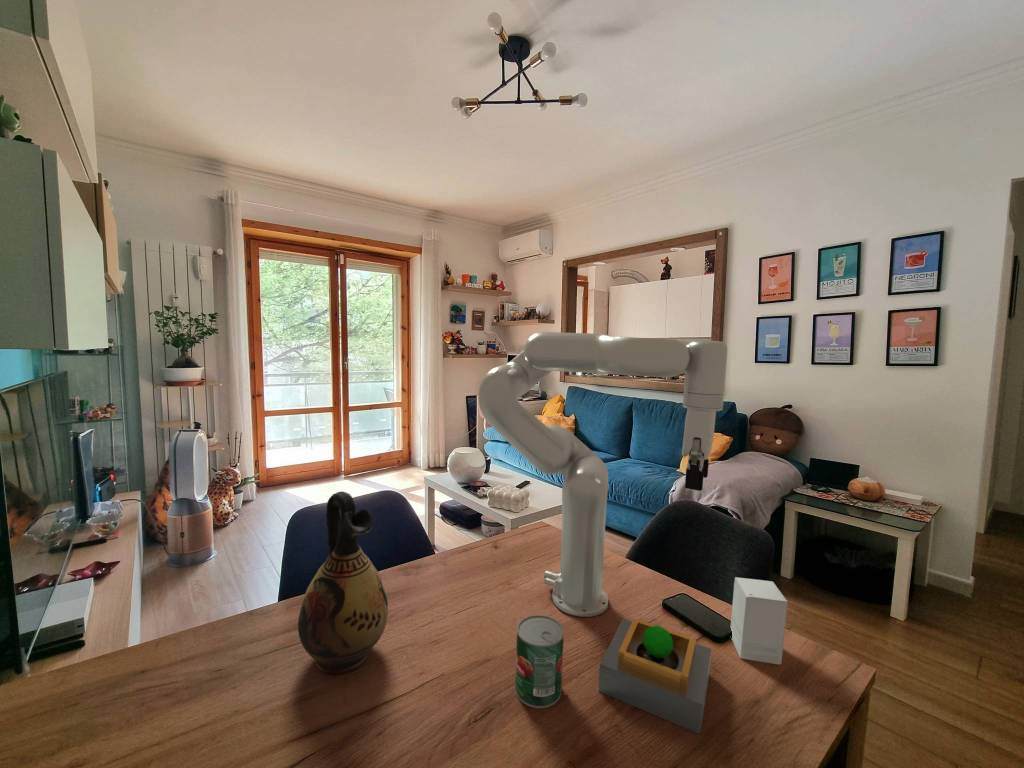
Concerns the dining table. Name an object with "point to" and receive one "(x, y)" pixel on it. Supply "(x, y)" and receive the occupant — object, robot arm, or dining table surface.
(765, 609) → the supplement box
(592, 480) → the robot arm
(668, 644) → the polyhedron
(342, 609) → the ceramic jug
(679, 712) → the grey yellow socket base
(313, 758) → the dining table surface
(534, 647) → the canned tomato
